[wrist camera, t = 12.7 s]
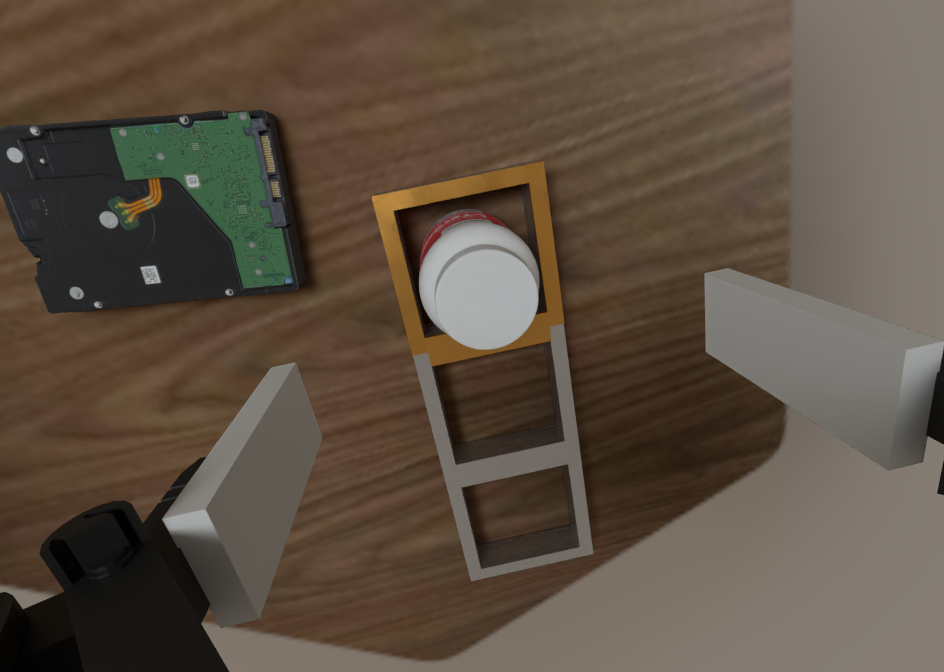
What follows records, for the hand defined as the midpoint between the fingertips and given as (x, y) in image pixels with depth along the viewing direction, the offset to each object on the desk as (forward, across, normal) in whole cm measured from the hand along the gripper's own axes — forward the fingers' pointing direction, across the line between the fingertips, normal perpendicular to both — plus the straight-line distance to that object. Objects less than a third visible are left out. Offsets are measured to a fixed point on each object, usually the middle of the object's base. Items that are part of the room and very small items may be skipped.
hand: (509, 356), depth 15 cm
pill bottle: (+18, 0, 0) cm, 18 cm away
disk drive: (+18, -17, +6) cm, 26 cm away
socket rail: (+17, 0, -10) cm, 20 cm away
